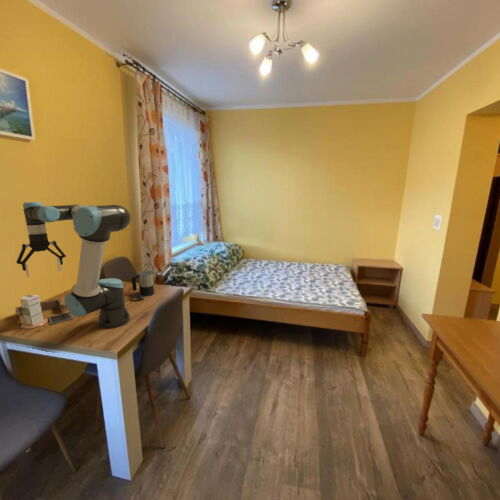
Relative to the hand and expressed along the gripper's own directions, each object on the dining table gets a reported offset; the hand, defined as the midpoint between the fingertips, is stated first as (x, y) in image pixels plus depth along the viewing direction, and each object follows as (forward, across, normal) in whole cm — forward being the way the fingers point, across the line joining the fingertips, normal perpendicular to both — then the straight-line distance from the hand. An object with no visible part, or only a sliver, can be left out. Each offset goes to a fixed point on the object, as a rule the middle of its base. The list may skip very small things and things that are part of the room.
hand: (44, 273), depth 142 cm
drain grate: (+25, -3, +3) cm, 26 cm away
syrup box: (+25, +8, 0) cm, 26 cm away
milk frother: (+26, -49, +2) cm, 56 cm away
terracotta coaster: (+25, +8, 0) cm, 26 cm away
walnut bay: (+25, +4, -10) cm, 27 cm away
